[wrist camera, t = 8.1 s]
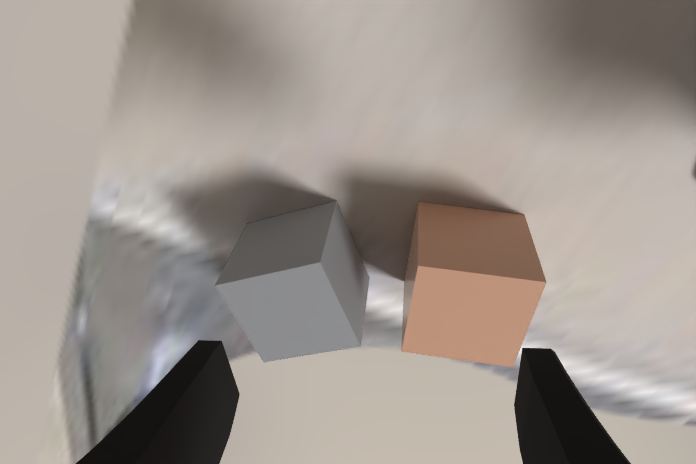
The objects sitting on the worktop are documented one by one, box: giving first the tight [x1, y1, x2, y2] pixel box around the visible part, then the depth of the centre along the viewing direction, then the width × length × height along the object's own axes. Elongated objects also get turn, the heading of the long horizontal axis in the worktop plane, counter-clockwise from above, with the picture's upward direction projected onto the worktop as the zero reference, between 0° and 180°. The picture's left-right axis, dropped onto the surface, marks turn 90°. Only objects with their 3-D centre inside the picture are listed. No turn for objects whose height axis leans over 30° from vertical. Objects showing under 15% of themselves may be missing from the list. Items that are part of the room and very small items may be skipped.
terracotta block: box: [401, 202, 546, 367], centre depth 21 cm, size 4×4×4 cm
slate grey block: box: [215, 200, 369, 362], centre depth 22 cm, size 4×4×4 cm
